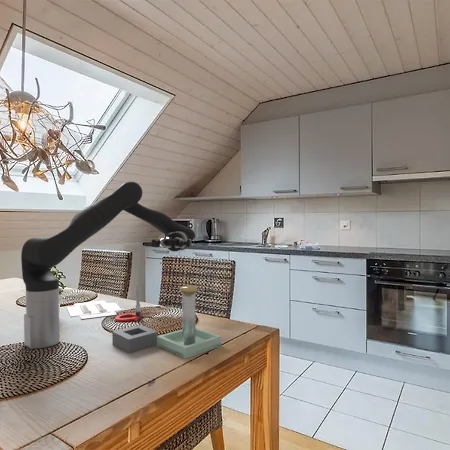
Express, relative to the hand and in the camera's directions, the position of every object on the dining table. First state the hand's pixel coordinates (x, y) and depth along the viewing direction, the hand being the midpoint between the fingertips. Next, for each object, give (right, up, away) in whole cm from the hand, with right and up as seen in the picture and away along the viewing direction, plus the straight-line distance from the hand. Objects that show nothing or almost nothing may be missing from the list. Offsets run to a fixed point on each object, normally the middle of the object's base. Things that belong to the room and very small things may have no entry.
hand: (167, 244), depth 127 cm
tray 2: (-36, -30, +27) cm, 54 cm away
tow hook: (-17, -30, +13) cm, 37 cm away
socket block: (-8, -30, -15) cm, 35 cm away
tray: (+9, -30, -17) cm, 36 cm away
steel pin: (+9, -29, -16) cm, 35 cm away
